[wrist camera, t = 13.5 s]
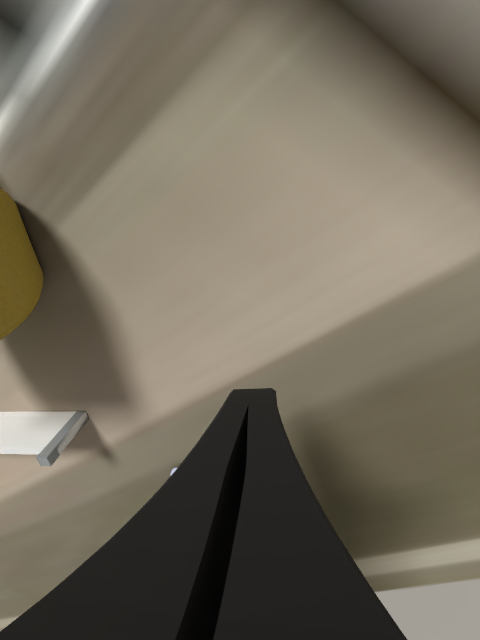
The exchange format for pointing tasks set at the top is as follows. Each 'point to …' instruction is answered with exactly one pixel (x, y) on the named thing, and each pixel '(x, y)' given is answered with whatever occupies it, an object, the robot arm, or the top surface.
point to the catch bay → (39, 433)
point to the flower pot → (16, 269)
